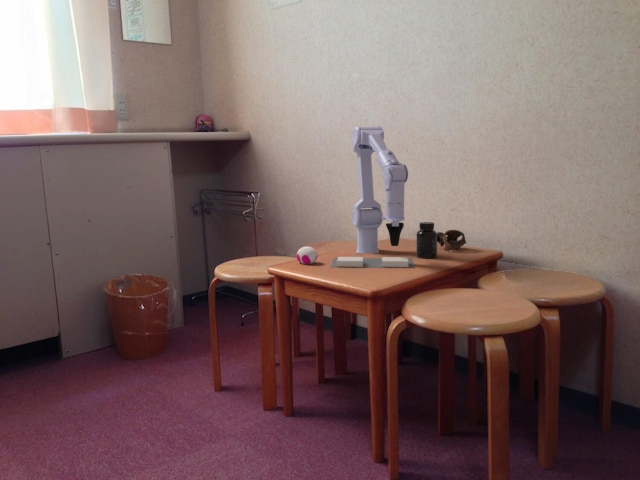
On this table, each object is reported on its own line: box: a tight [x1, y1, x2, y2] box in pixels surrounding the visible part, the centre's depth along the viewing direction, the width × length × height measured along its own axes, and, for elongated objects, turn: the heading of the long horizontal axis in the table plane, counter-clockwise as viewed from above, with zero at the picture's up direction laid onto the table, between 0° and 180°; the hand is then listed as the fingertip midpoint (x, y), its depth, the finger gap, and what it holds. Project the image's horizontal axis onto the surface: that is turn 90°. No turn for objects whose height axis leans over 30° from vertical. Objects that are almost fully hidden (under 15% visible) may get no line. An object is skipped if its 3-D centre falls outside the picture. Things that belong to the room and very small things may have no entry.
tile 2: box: [381, 256, 408, 267], centre depth 177 cm, size 2×8×6 cm
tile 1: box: [337, 256, 364, 268], centre depth 179 cm, size 2×8×6 cm
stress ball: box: [296, 246, 318, 265], centre depth 182 cm, size 8×8×7 cm
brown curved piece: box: [437, 229, 467, 252], centre depth 205 cm, size 12×10×8 cm
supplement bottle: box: [416, 221, 438, 260], centre depth 189 cm, size 7×7×12 cm
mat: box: [330, 257, 416, 269], centre depth 182 cm, size 15×26×1 cm, turn 84°
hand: (394, 245), depth 180 cm, fingers closed
